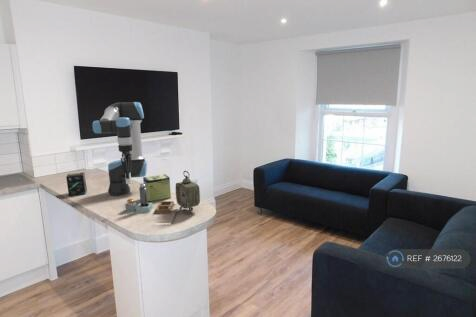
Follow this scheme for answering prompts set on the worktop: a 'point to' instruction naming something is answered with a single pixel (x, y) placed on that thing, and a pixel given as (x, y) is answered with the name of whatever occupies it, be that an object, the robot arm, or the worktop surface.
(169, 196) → the protein box
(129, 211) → the socket block
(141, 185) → the dark grey cylinder
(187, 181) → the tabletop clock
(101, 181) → the worktop surface
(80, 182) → the tampon box
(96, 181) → the worktop surface
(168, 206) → the tray
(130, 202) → the release plunger
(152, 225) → the worktop surface
